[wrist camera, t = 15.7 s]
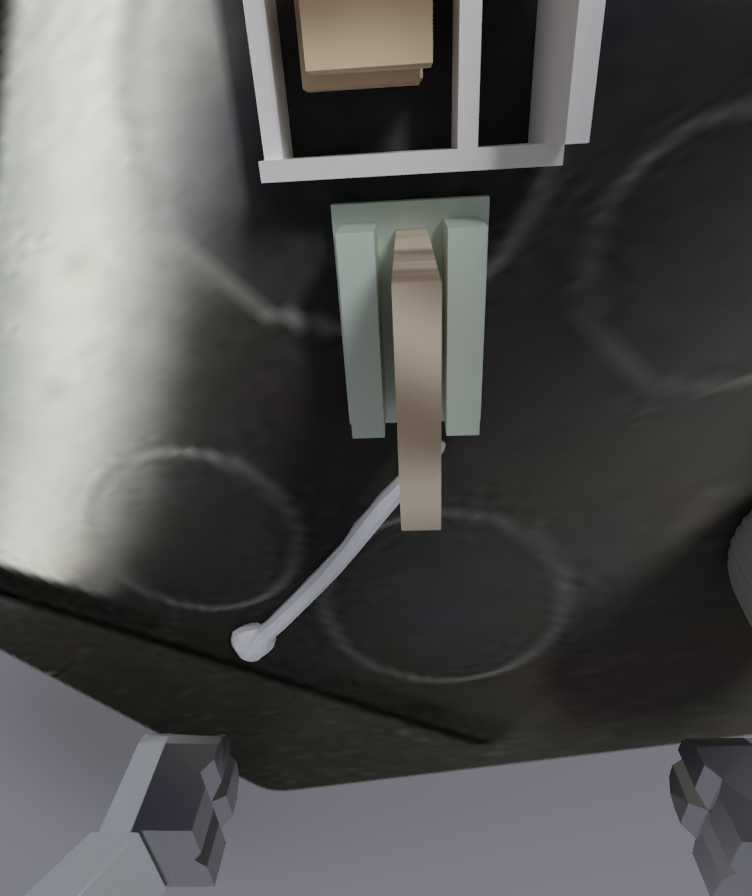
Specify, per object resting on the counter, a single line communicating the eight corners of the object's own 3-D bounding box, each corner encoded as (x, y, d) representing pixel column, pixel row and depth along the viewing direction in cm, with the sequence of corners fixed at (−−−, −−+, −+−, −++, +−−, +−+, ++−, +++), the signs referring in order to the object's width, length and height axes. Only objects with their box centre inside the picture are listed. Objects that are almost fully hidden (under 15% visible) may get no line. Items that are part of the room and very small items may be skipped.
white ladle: (408, 413, 39) (408, 432, 37) (453, 444, 40) (456, 463, 38) (227, 631, 51) (218, 656, 49) (265, 651, 52) (258, 676, 50)
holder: (332, 203, 32) (321, 213, 28) (487, 195, 32) (500, 203, 27) (350, 417, 39) (344, 452, 35) (478, 413, 39) (488, 448, 34)
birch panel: (395, 229, 32) (391, 285, 20) (427, 227, 32) (441, 283, 20) (401, 402, 37) (401, 530, 25) (428, 401, 37) (441, 530, 25)
